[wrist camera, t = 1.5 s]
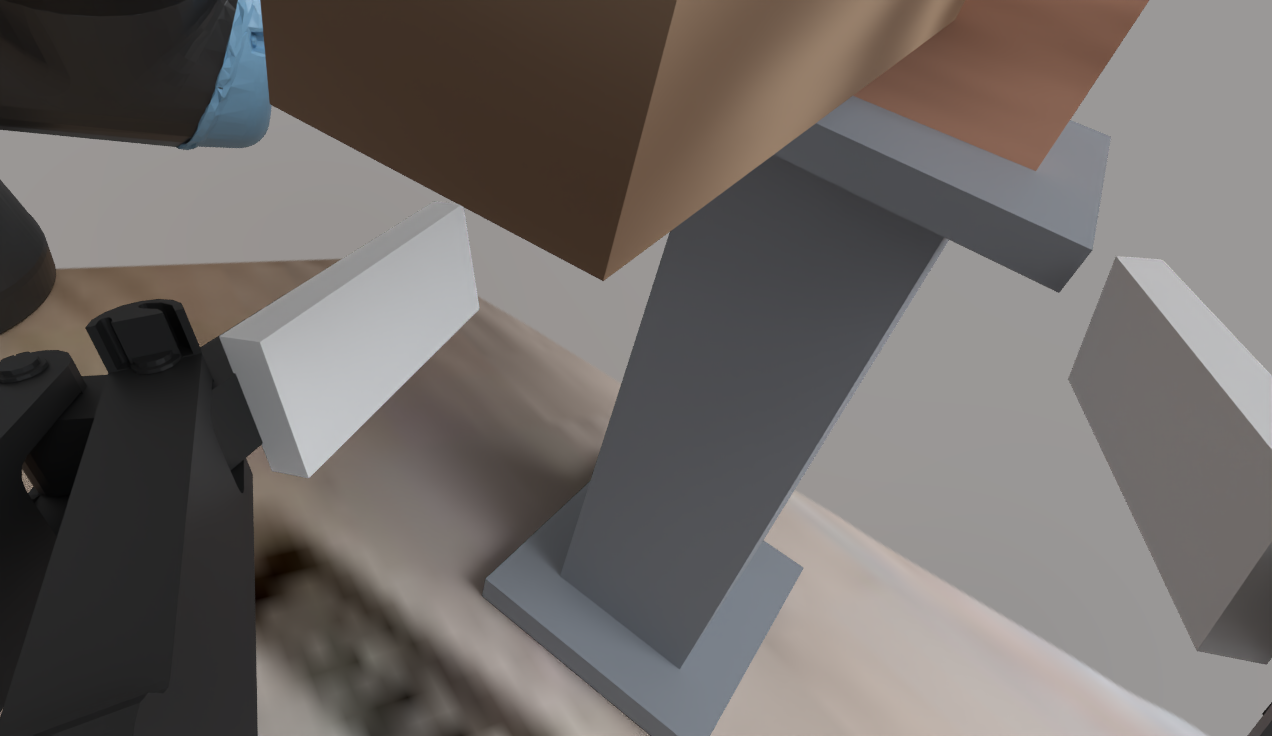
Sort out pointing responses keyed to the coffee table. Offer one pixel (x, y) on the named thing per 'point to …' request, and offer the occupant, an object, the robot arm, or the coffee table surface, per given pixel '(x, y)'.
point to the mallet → (663, 93)
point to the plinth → (765, 392)
